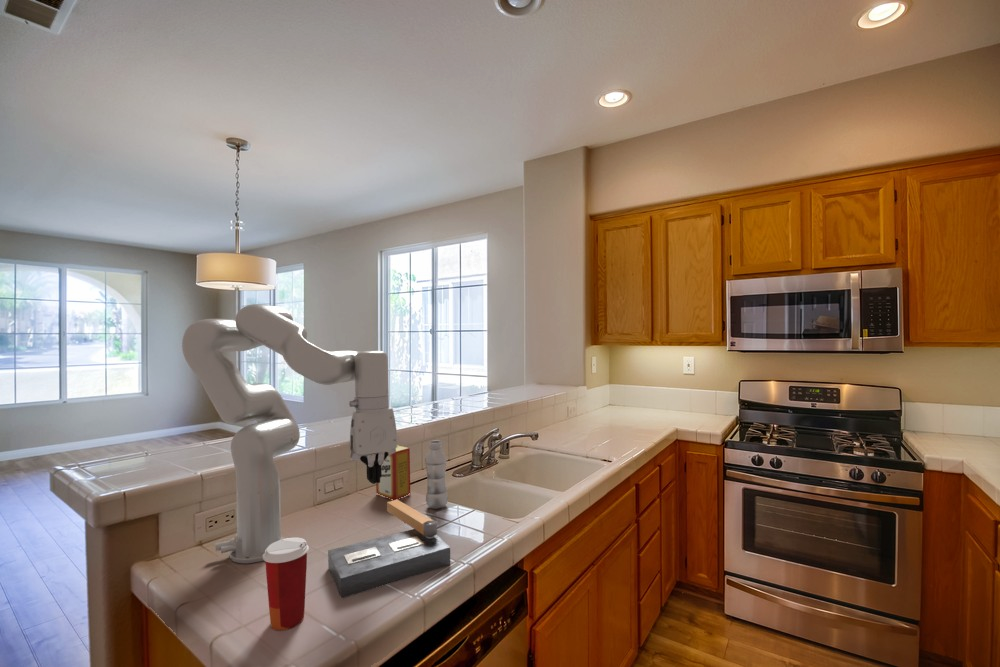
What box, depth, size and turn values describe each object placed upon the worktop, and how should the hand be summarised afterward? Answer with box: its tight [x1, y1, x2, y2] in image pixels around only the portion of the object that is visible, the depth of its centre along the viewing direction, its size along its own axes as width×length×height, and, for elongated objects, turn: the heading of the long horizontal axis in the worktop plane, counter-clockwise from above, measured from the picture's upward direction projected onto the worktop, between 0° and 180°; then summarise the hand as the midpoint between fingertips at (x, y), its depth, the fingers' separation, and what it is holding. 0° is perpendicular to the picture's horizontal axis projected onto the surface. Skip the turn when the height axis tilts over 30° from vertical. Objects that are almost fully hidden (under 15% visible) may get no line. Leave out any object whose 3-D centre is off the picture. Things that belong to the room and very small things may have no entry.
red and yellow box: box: [375, 444, 411, 500], centre depth 148 cm, size 10×6×16 cm
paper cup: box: [263, 537, 310, 632], centre depth 83 cm, size 8×8×14 cm
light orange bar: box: [386, 499, 438, 537], centre depth 114 cm, size 22×3×2 cm, turn 40°
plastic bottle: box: [424, 440, 449, 510], centre depth 137 cm, size 6×7×20 cm
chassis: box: [327, 528, 451, 599], centre depth 102 cm, size 24×14×5 cm, turn 121°
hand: (374, 481), depth 105 cm, fingers closed
